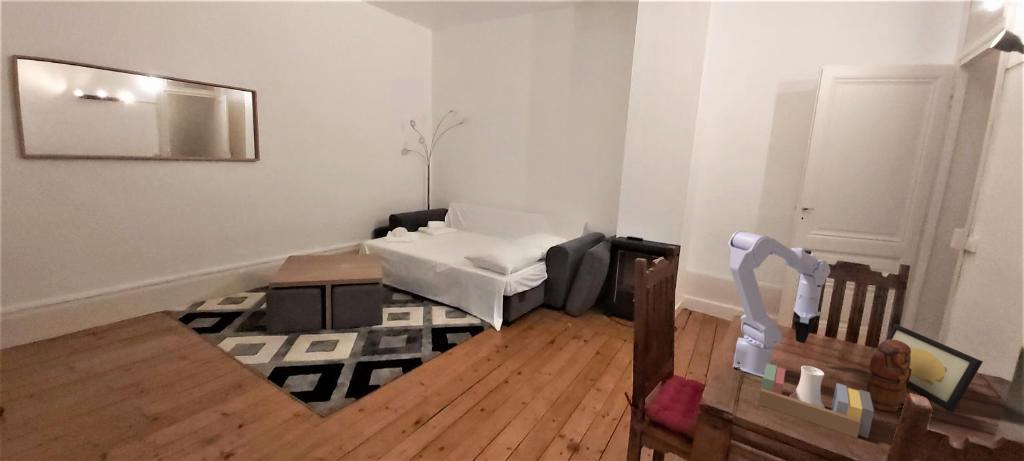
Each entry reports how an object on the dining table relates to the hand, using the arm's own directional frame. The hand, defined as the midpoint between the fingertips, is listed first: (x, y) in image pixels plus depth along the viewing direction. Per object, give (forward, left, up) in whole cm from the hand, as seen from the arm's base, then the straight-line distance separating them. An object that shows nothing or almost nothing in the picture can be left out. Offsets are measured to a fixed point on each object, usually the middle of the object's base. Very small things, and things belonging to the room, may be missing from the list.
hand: (800, 337), depth 125 cm
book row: (+4, -27, -9) cm, 29 cm away
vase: (+3, -24, -10) cm, 26 cm away
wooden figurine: (+20, -9, -10) cm, 24 cm away
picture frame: (+30, +10, -10) cm, 33 cm away
